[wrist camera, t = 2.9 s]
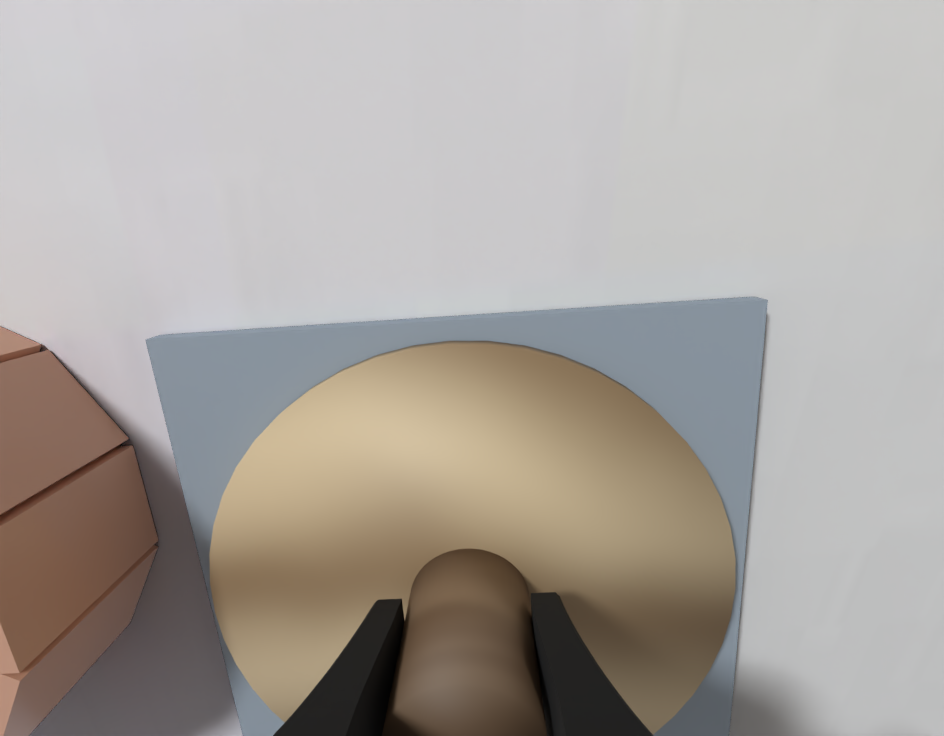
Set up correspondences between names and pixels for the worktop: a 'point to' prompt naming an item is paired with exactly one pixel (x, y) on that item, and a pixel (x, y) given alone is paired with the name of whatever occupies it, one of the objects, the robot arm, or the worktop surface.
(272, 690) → the oak lid
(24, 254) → the worktop surface
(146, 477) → the worktop surface
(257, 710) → the rubber mat
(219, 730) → the worktop surface
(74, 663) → the terracotta bowl
